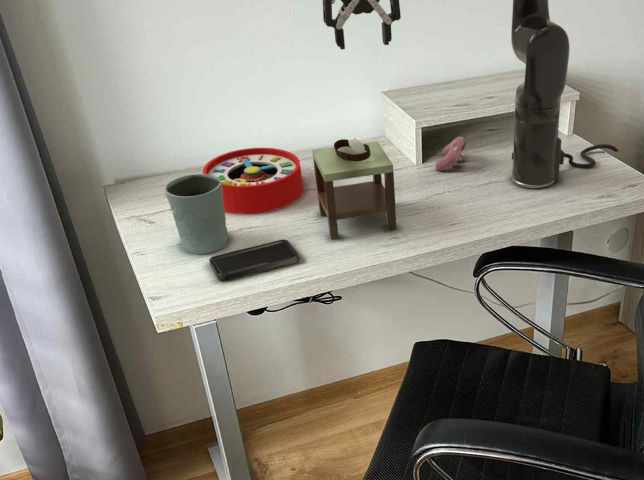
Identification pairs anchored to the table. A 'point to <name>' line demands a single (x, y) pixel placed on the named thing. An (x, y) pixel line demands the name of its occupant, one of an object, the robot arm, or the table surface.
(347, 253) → the table surface
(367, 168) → the small side table
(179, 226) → the grey-green cup
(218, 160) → the toy clock
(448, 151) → the video game controller
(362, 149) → the watch
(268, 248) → the phone
